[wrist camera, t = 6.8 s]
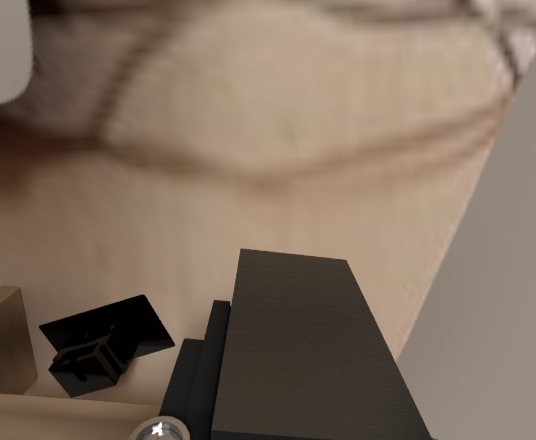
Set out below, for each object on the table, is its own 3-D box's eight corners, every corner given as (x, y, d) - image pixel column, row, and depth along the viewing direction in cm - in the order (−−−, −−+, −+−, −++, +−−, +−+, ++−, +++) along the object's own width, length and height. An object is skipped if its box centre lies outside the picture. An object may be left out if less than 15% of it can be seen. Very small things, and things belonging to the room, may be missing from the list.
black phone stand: (161, 273, 24) (140, 313, 20) (200, 344, 27) (188, 392, 23) (20, 319, 26) (-29, 365, 21) (70, 382, 28) (36, 434, 24)
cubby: (2, 286, 24) (-152, 402, 15) (231, 307, 25) (213, 428, 16) (22, 375, 27) (-94, 513, 18) (223, 391, 28) (205, 528, 19)
